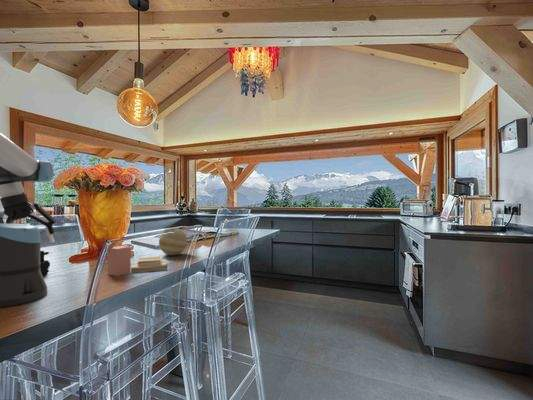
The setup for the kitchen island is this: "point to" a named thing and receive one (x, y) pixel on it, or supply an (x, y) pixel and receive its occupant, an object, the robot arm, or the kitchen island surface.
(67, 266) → the kitchen island surface
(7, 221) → the robot arm
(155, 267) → the plinth
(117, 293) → the kitchen island surface
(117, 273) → the pillar
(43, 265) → the toy
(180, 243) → the decorative ball
